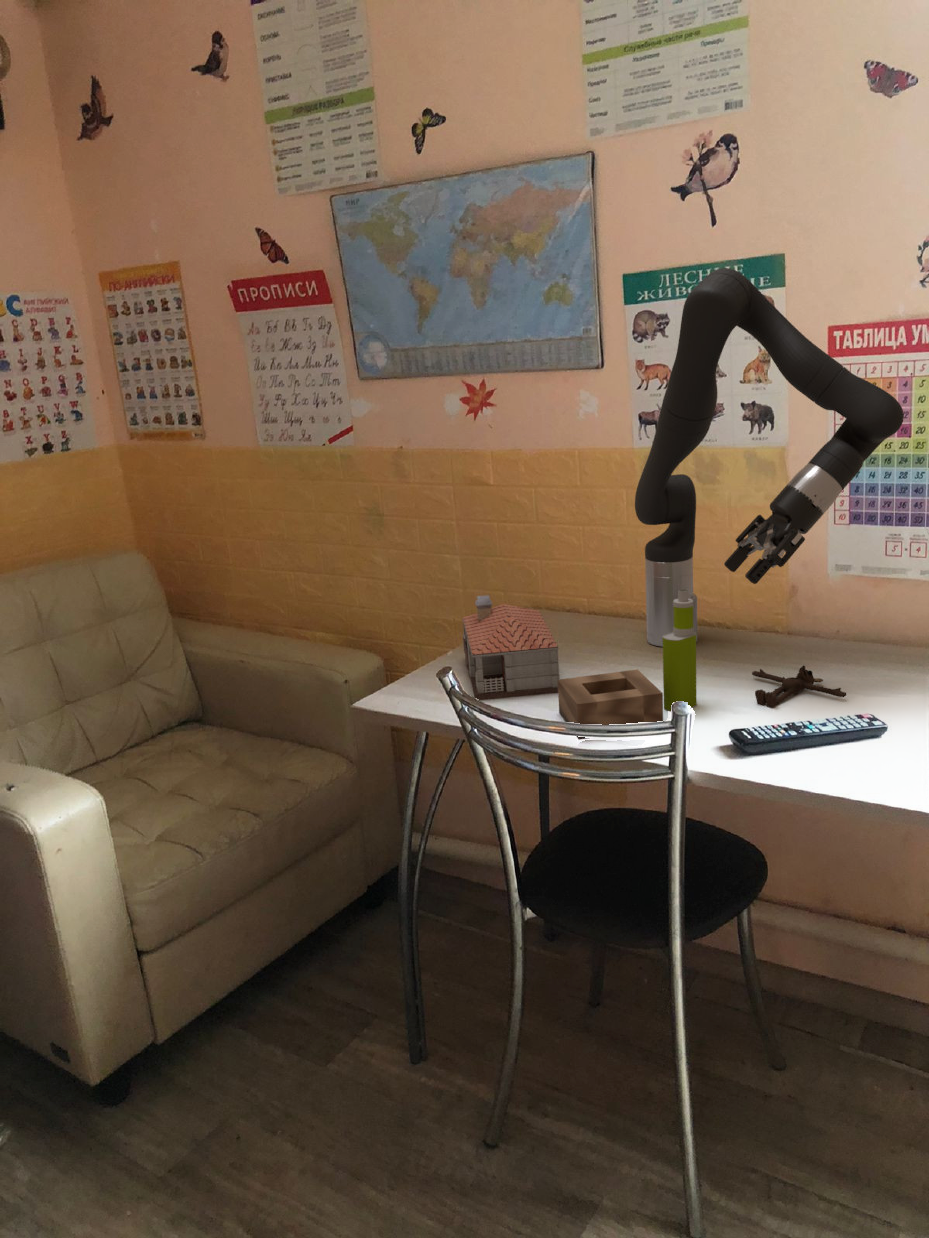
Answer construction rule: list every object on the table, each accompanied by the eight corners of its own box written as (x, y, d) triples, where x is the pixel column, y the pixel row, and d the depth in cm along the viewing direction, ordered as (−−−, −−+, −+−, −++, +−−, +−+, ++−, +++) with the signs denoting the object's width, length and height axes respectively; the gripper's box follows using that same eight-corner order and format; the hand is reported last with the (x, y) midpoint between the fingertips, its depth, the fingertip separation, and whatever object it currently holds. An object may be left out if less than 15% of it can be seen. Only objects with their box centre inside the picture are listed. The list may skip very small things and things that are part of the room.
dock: (638, 702, 176) (637, 669, 175) (663, 728, 165) (662, 693, 163) (559, 712, 174) (557, 679, 173) (578, 739, 163) (577, 704, 161)
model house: (463, 660, 206) (458, 587, 202) (541, 653, 207) (537, 580, 202) (473, 702, 183) (467, 621, 179) (560, 693, 184) (556, 613, 180)
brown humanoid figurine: (718, 679, 177) (767, 650, 185) (719, 702, 178) (768, 672, 187) (812, 703, 163) (860, 671, 172) (813, 728, 165) (861, 694, 173)
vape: (700, 703, 174) (700, 589, 168) (677, 713, 170) (675, 597, 165) (683, 698, 177) (682, 586, 171) (660, 708, 173) (657, 593, 168)
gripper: (771, 477, 173) (706, 551, 175) (811, 490, 159) (741, 570, 161) (800, 506, 175) (736, 578, 177) (843, 520, 162) (773, 599, 163)
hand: (738, 574), depth 169 cm, fingers open, 8 cm apart
